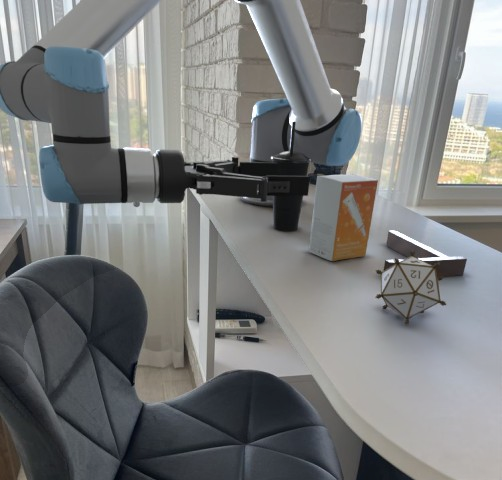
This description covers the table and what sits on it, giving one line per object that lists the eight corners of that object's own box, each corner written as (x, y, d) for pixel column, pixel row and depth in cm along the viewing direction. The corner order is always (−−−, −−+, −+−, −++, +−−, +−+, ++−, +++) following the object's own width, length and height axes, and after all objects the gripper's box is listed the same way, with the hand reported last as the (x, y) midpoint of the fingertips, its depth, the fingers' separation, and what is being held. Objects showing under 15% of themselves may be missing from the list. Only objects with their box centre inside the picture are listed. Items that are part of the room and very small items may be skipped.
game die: (391, 334, 68) (397, 265, 70) (454, 333, 63) (459, 257, 65) (357, 318, 62) (365, 241, 64) (425, 314, 56) (431, 230, 58)
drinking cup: (277, 221, 107) (285, 119, 98) (310, 227, 104) (321, 122, 95) (259, 228, 101) (265, 120, 92) (293, 235, 98) (303, 123, 89)
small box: (331, 262, 84) (342, 181, 78) (307, 252, 88) (315, 175, 82) (366, 256, 88) (379, 179, 82) (342, 246, 92) (352, 173, 87)
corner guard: (337, 247, 92) (339, 232, 91) (403, 244, 96) (406, 230, 95) (386, 280, 77) (389, 262, 76) (463, 275, 81) (467, 258, 80)
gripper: (146, 187, 86) (264, 187, 92) (168, 223, 64) (320, 220, 71) (144, 140, 82) (267, 143, 89) (167, 161, 61) (327, 164, 67)
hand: (291, 178), depth 80 cm, fingers open, 13 cm apart
